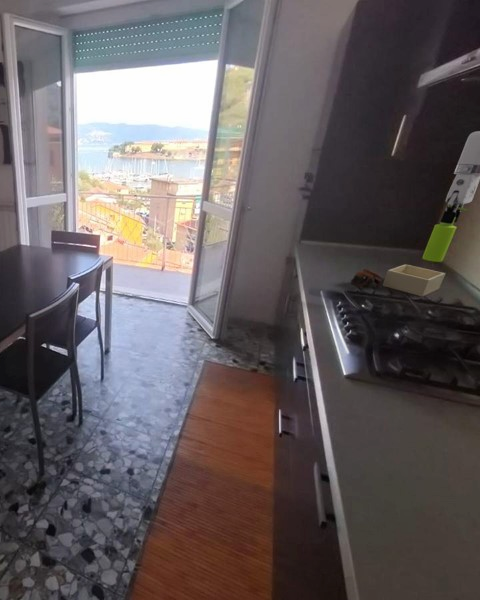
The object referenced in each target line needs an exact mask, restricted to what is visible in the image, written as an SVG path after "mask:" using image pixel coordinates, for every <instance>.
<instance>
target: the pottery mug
mask: <svg viewBox="0 0 480 600" xmlns="http://www.w3.org/2000/svg"><path fill="white" fill-rule="evenodd" d="M382 279H383V277H381V276H380V275H379V274H377V273H376V272H374V271H372V270H370V269H367V268H364V269H363V270H360V271H358V272H356V273H355V275H354V276H353V278H352V279H350V282H349V284H350V285H352V286H353V287H355V288H357V289H359V288H360V286H361V287H363V288H364V289H365V288H366V289H367V288H369V287H370V286H371V285H372V284H373V283H375V284H376V285H375V288H376V289H377V288H379V286H380V285H381V280H382Z"/></svg>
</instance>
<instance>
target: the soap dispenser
mask: <svg viewBox="0 0 480 600" xmlns="http://www.w3.org/2000/svg"><path fill="white" fill-rule="evenodd" d="M457 210H461V211H469V208H468V209H467V208H464V207H463V208H461V207H458V208H457ZM455 218H456V217H455ZM455 218H454V221H455ZM454 221H453V223H452V224H449V223H442V222H441V221H440V223H439V224H434V227H433V229H432V232H431V234H430V237H429V239H428V242H427V245H426V247H425V250H424V252H423V255H422V257H421V258H422V260H424V261H428V262H433V263H434V262H435V263H441V262H443V261H444V259H445V257H446V254H447V251H448V249H449V246H450V244H451V241H452V239H453V237H454V235H455V232H456V230H457V228H458V227H457V226H455V225H454V223H455V222H454Z"/></svg>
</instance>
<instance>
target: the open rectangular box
mask: <svg viewBox="0 0 480 600" xmlns="http://www.w3.org/2000/svg"><path fill="white" fill-rule="evenodd" d="M445 276H446V272H443V271H442V272H441V271H436V270H433V269H427V268H424V267H419V266H415V265H410V264H405V263H404V264H402V265H399V266H396V267H393V268H390V269H388V270H387V272H386V274H385V277H384V280H383V283H382V286H383V287H386V288H388V289H389V288H390V289H394V290H397V291H400V292H404V293H408V294H412V295H415V296H419V297H424V296H427V295H428V294H430V293H434V292H435V291H438V290H439V289H440V287H441V285H442V283H443V280H444V279H445Z"/></svg>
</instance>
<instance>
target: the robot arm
mask: <svg viewBox="0 0 480 600" xmlns="http://www.w3.org/2000/svg"><path fill="white" fill-rule="evenodd" d="M453 174H454V175H455V177H454V179H453V181H452V184H451V186H450V188H449V191H448V192H447V195H446V198H445V203H447V204H446V207H445V209H444V212H443V215H442V216H441V219H440V223H441V222H442V223H449V224H452V223H453V221H454V218H455V217H456V218H455V221H454V223H457V222H458V220H459V218H460V215H461V213H462V210H457V208H458V207H461V208H464V205H466V204H469V203H471V202H473V199H474V197H475V194H476V191H477V189H478V186H479V183H480V130H477V131H473V132H471V133H470V134H469V135H468V137H467V139H466V141H465V144H464V147H463V149H462V152H461V154H460V157H459V159H458V161H457V164H456V167H455V169H454V172H453ZM454 223H453V224H454Z"/></svg>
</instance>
